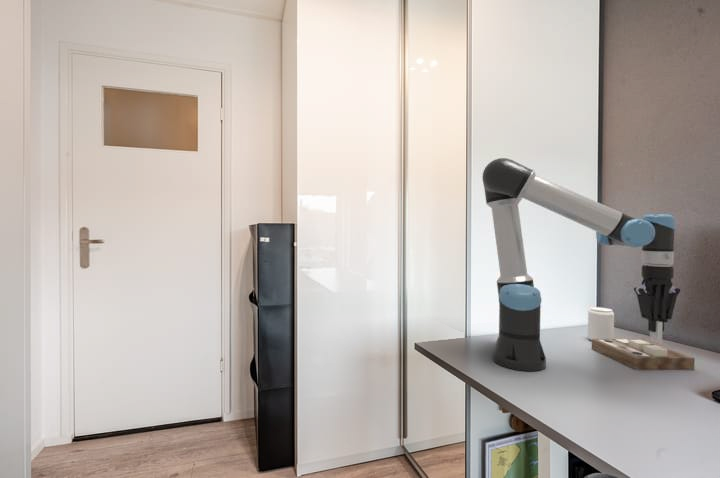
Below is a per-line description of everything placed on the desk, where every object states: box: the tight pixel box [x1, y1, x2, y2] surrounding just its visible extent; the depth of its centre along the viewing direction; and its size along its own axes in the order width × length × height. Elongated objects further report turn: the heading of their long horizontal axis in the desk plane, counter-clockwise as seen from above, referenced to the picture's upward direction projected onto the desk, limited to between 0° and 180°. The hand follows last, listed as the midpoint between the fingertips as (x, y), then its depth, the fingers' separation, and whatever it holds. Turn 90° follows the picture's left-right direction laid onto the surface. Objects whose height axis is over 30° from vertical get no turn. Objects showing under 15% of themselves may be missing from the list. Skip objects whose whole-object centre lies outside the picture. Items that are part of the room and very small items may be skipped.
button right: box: [643, 345, 667, 357], centre depth 110 cm, size 4×4×3 cm
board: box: [591, 338, 695, 371], centre depth 116 cm, size 18×19×4 cm
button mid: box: [628, 340, 651, 350], centre depth 116 cm, size 4×4×3 cm
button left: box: [614, 338, 628, 344], centre depth 122 cm, size 4×4×3 cm
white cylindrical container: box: [587, 306, 615, 341], centre depth 135 cm, size 8×8×12 cm
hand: (655, 342), depth 110 cm, fingers closed
